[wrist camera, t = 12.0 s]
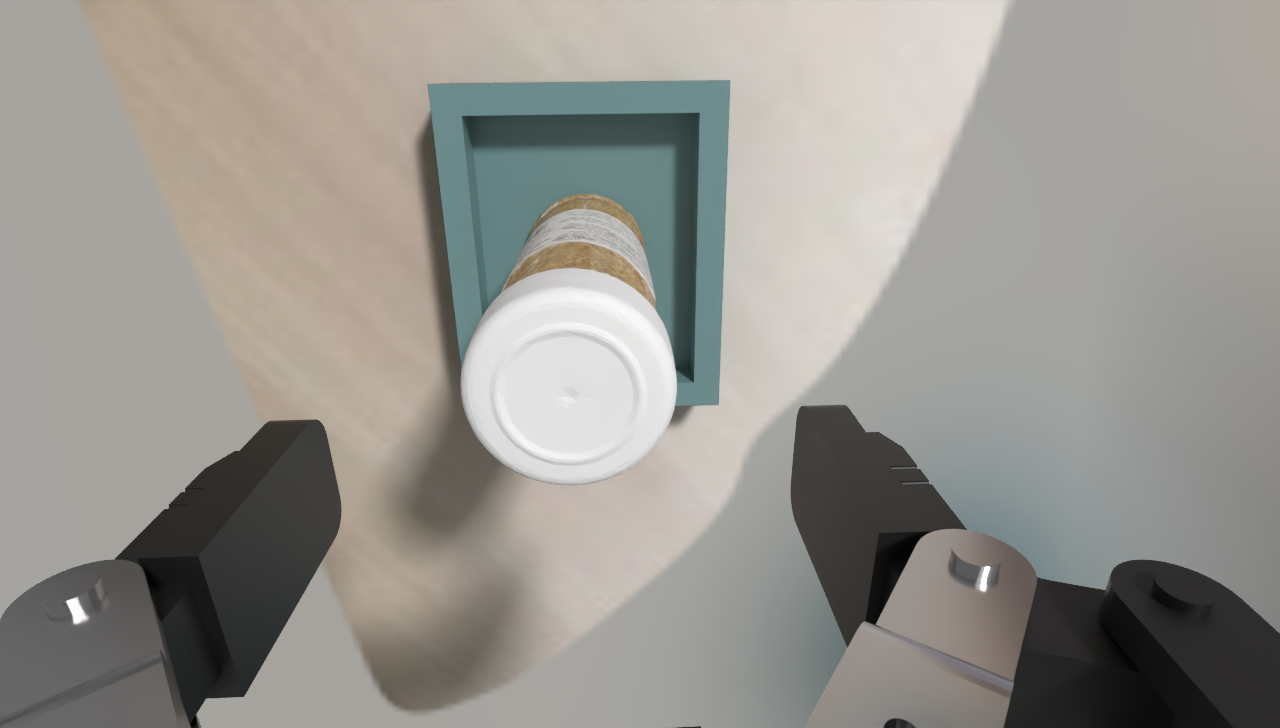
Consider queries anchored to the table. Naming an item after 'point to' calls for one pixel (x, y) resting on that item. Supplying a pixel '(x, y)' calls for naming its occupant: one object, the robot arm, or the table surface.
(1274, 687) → the robot arm
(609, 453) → the sprinkles bottle
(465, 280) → the tray
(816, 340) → the table surface
